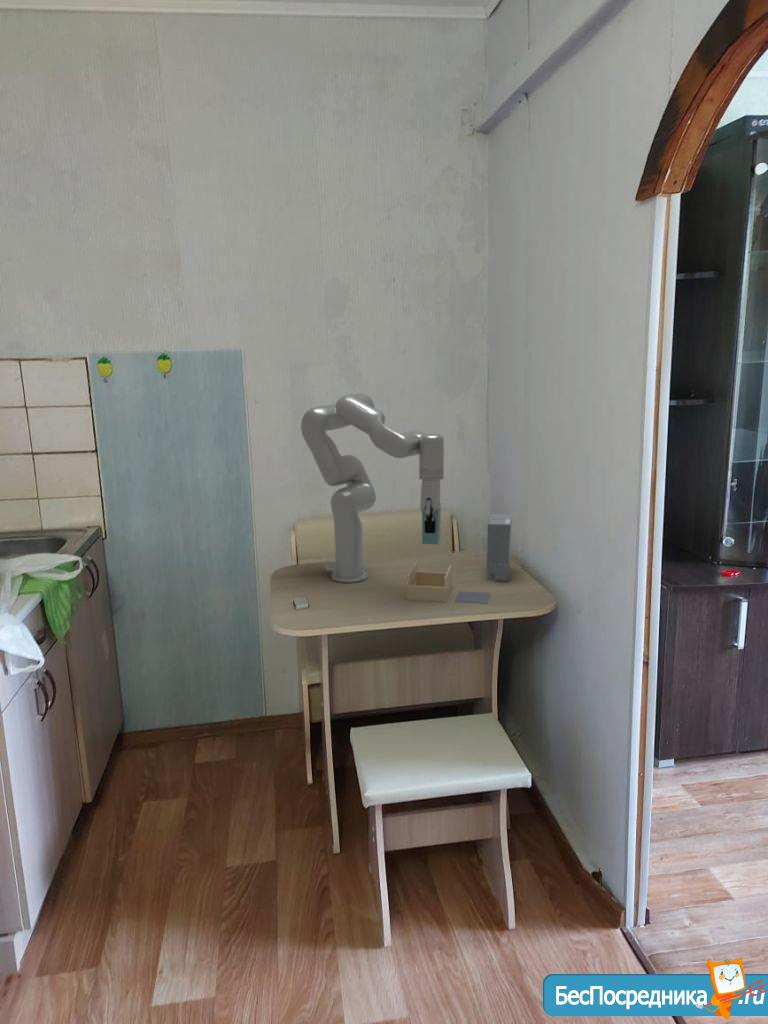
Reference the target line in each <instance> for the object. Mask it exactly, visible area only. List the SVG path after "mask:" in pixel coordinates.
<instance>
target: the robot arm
mask: <svg viewBox="0 0 768 1024" xmlns="http://www.w3.org/2000/svg"><path fill="white" fill-rule="evenodd" d="M385 421H386V416H385V414H384V412H383V411H381V410H379V409H377V408H375V402H374V401H373V399H372V398H371V396H369V395H367V394H365V393H353V394H347V395H343V396H342V397H339V398H338V400H337V401H336V403H333V404H326V405H317V406H315V407H312V408H309V409H308V410H307V411H306V412H305V413H304V414H303V416H302V418H301V421H300V428H301V429H300V431H301V436H302V438H303V439H304V442H305V443H306V446H307V447H308V448H309V450H310V452H311V454H312V456H313V458H314V459H313V460H314V461H315V464H316V465H317V467H318V470H319V472H320V474H321V476H322V478H323V480H324V482H325V483H326V484H327V485H328V486H331V487H337V486H338V487H339V486H343V485H345V484H346V486H344V487H342V488H339V489H338V490H336V491H335V492H333V494H332V495H331V499H330V508H331V512H332V517H333V518H332V519H333V526H334V528H333V529H334V554H335V555H334V557H335V559H334V560H335V562H334V563H333V564H331V563H329V564H328V563H325V564H324V565H323V569H324V570H325V572H332V573H331V574H330V576H331V579H332V580H333V581H335V582H339V583H345V584H346V583H358V582H363V581H365V580H366V579H367V578H369V574H368V571H366V570H364V546H363V545H364V541H363V538H364V537H363V524H362V521H361V518H360V515H359V513H362V512H364V511H367V510H370V509H371V508H373V506H374V505H375V503H376V500H377V499H376V497H377V496H376V491H375V489H374V487H373V484H372V482H371V479H370V477H369V475H368V474H367V471H366V468H365V467H364V464H363V463H362V462H361V461H360V459H359V458H358V457H356V456H355V455H351V454H347V455H345V454H344V455H341V453H340V451H339V450H338V447H337V445H336V443H335V441H334V440H333V439H332V438H331V437H330V436H329V435H328V434H327V433H326V432H328V431H333V430H334V431H335V430H340V429H344V428H347V427H348V426H353V427H355V428H356V429H358V430H360V431H361V432H363V433H365V434H366V435H368V436H369V439H370V440H371V442H372V443H373V445H374V446H375V447H376V448H378V449H379V450H381V451H383V452H384V453H385V454H387V455H389V456H391V457H393V458H397V459H405V458H408V457H412V456H418V455H419V458H418V460H419V462H418V464H419V465H418V468H419V475H418V476H419V477H418V478H419V480H421V486H420V505H419V506H420V509H419V510H420V511H421V512H422V510H424V509H425V533H435V521H434V512H435V511H436V510H437V506H438V505H439V503H441V480H444V479H445V478H444V477H445V476H444V466H445V465H444V462H445V461H444V460H445V459H444V458H445V457H444V456H445V453H444V452H445V449H444V448H445V444H444V443H445V439H444V436H443V435H442V434H439V433H436V432H435V433H431V432H430V433H427V432H423V431H418V430H413V431H405V432H402V433H401V432H400V433H398V432H396V431H394V430H392V429H391V428H389V427H387V426H386V425H385V423H386V422H385ZM425 506H426V507H425ZM430 509H433V511H430ZM430 513H432V514H430Z"/></svg>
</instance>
